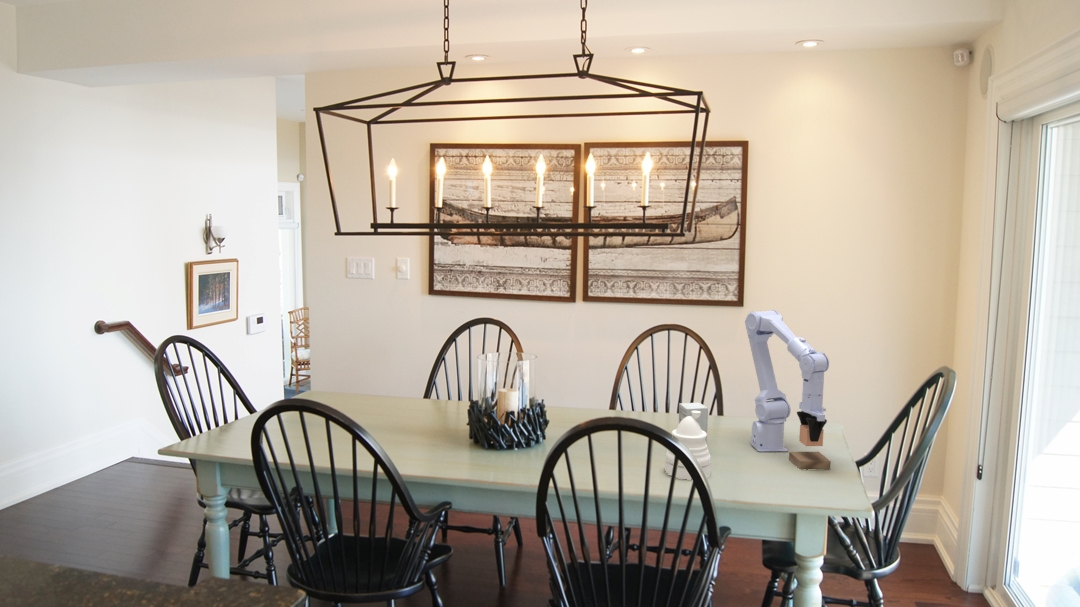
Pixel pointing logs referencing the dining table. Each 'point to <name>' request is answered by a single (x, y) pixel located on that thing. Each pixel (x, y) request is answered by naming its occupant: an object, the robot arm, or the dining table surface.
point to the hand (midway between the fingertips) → (810, 438)
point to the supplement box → (687, 409)
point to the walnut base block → (809, 460)
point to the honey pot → (690, 446)
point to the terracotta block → (806, 437)
